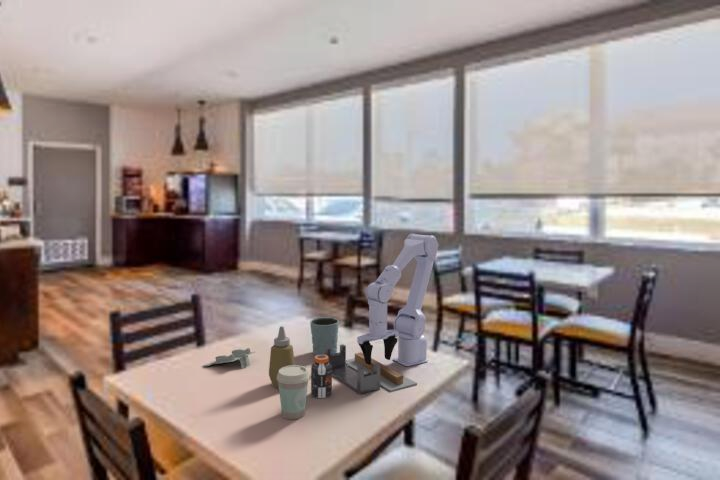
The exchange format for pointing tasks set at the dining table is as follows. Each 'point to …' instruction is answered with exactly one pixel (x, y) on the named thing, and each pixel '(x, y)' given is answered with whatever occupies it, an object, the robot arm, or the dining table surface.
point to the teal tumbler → (324, 335)
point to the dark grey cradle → (353, 373)
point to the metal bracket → (234, 358)
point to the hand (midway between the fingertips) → (377, 361)
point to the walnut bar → (381, 369)
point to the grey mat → (383, 381)
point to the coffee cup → (293, 390)
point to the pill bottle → (321, 377)
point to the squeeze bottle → (280, 356)
